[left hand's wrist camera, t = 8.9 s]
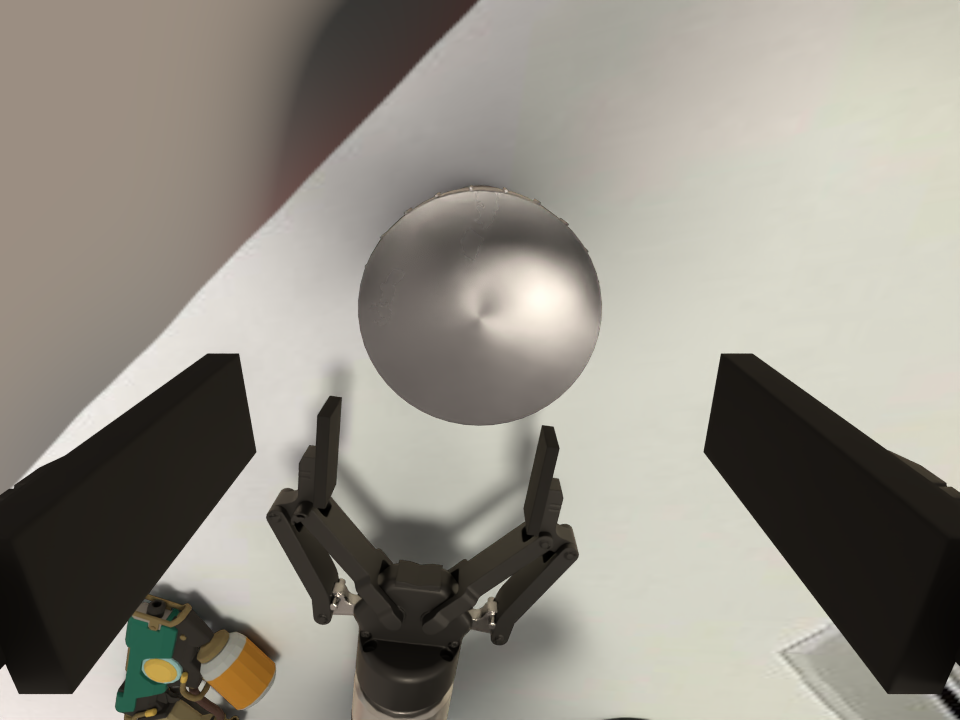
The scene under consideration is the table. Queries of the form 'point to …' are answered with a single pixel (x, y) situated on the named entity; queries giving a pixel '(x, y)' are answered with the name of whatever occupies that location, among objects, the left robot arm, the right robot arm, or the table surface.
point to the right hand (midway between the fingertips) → (441, 420)
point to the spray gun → (187, 665)
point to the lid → (479, 306)
